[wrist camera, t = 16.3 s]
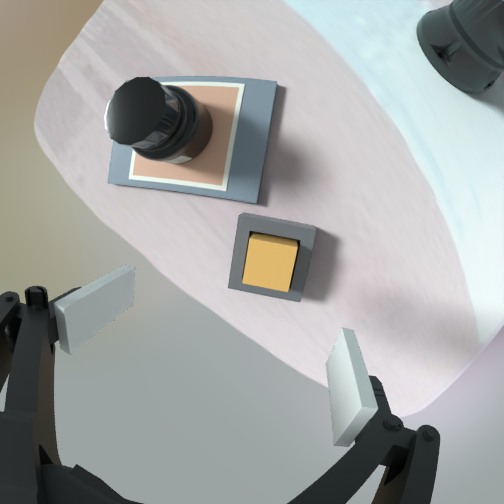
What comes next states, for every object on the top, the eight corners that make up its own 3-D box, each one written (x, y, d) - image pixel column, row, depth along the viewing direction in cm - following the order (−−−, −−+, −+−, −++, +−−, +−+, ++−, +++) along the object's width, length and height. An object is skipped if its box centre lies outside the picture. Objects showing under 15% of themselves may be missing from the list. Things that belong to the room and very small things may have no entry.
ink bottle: (137, 138, 33) (81, 125, 21) (177, 87, 30) (132, 53, 19) (186, 179, 33) (138, 178, 22) (230, 125, 31) (200, 96, 19)
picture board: (277, 84, 30) (276, 81, 29) (257, 202, 34) (256, 203, 33) (130, 82, 32) (126, 79, 31) (112, 183, 36) (107, 183, 35)
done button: (296, 240, 33) (297, 247, 29) (288, 280, 34) (287, 292, 30) (254, 232, 33) (249, 238, 29) (247, 272, 35) (242, 283, 31)
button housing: (313, 225, 34) (316, 229, 30) (299, 291, 36) (300, 302, 33) (243, 212, 35) (238, 215, 31) (233, 278, 37) (227, 287, 34)
